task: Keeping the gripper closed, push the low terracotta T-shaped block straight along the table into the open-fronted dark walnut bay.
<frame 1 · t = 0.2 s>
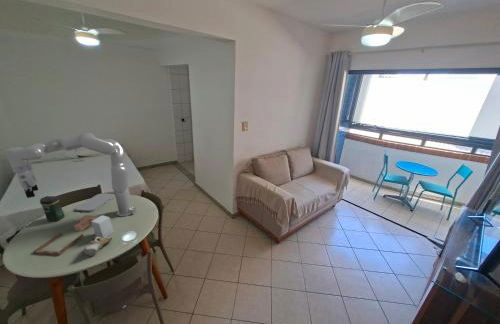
hand: (33, 193, 119), 31 cm above the table, fingers open, 9 cm apart
supplement box: (105, 234, 130), on the table
tablet: (96, 203, 165), on the table
ceramic sculpture: (97, 249, 118), on the table
walnut bay: (61, 243, 121), on the table
coffee jar: (56, 218, 144), on the table
t block: (87, 224, 139), on the table
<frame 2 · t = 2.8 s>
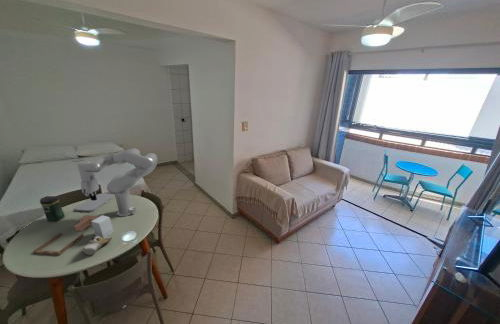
hand: (94, 199, 145), 14 cm above the table, fingers closed
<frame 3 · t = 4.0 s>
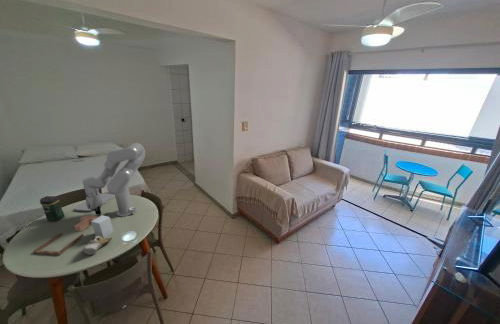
hand: (98, 213, 149), 1 cm above the table, fingers closed
nothing on the table moved.
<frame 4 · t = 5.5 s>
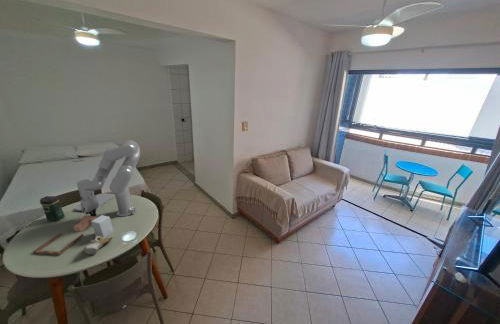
hand: (93, 217, 145), 1 cm above the table, fingers closed
t block: (86, 224, 139), on the table, touching gripper
everything else where it was.
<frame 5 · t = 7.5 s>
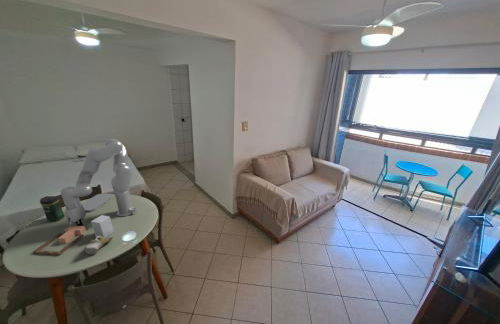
hand: (80, 227, 134), 1 cm above the table, fingers closed
t block: (72, 235, 128), on the table, touching gripper
everything else where it was.
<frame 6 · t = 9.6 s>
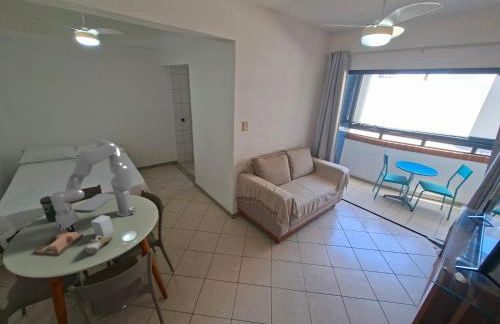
hand: (72, 233, 128), 1 cm above the table, fingers closed
t block: (64, 242, 122), on the table, touching gripper
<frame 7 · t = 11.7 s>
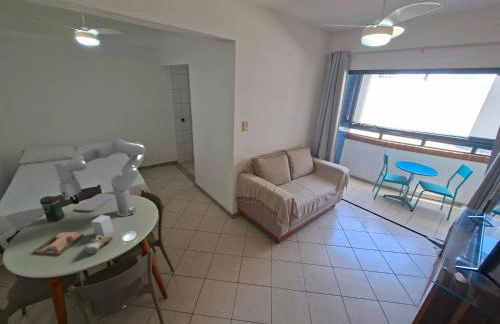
hand: (76, 203, 130), 19 cm above the table, fingers closed
t block: (64, 242, 122), on the table
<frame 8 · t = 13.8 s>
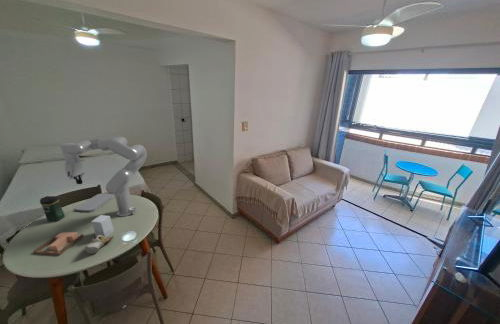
hand: (79, 183, 141), 27 cm above the table, fingers closed
at the end: t block 1.1 cm from the target spot on the walnut bay, point 0.0 cm above the walnut bay's base; t block tilted 0° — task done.
